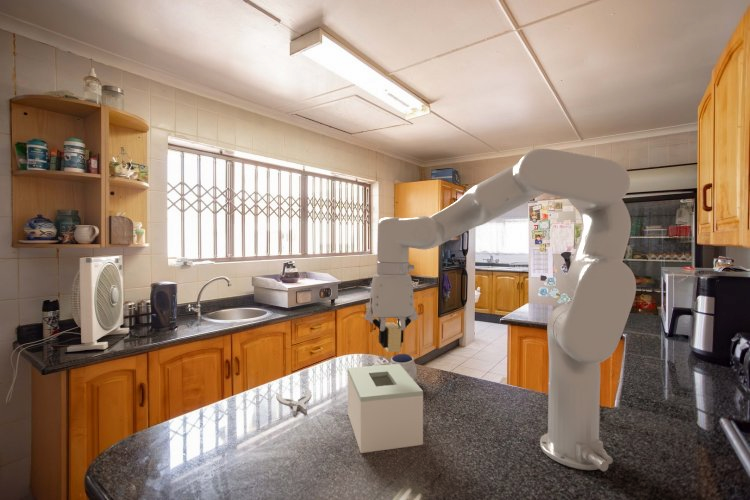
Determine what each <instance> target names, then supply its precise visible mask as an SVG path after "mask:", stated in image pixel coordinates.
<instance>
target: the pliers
mask: <svg viewBox="0 0 750 500" xmlns="http://www.w3.org/2000/svg"><path fill="white" fill-rule="evenodd" d="M306 392H307V393H306V395H303V396H301V397H300V398H298V399H297V400H296V401H295V399H291V398H284V397H282V396H281V395H280V394H279V392H276V400H277V401H278V402H279V403H281V404H282V405H285V406H289V407H291V408H292V413H293V414H292V415H293V416H297V413H298V410H299V411H301V412H302V413H303V414H304V415H305V414H307V413H308V409H307V406H306V405H305V404H306V403H307V402H308V401H310V400H311V398H312V397H311V396H312V391H311V389H310V388H306Z"/></svg>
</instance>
